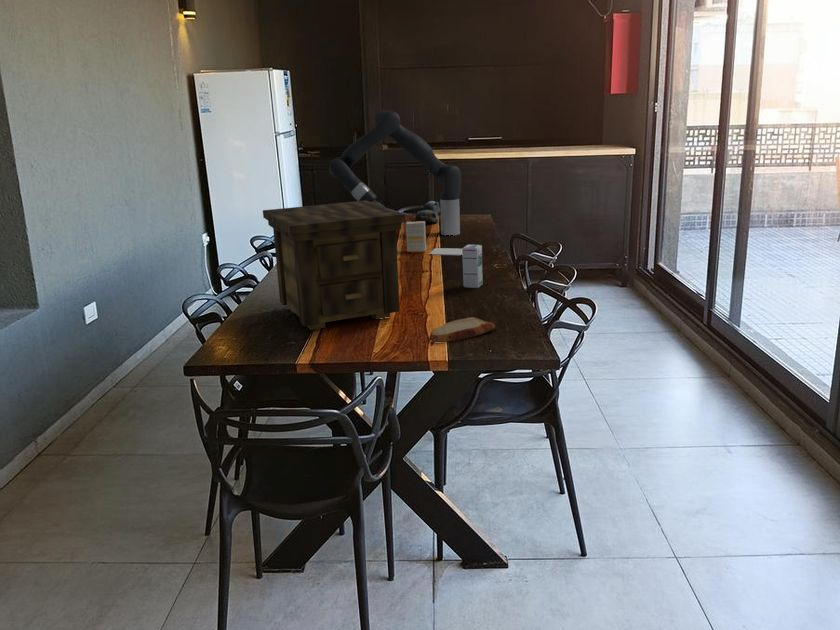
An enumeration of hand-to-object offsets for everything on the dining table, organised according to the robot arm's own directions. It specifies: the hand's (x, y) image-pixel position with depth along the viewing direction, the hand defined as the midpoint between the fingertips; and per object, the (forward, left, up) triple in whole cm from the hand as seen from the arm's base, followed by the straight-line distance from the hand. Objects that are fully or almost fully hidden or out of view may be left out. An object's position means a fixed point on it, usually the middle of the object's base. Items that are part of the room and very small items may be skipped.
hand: (391, 223), depth 321 cm
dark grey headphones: (-72, -3, -13) cm, 73 cm away
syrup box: (+55, +47, -13) cm, 74 cm away
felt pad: (0, +27, -12) cm, 30 cm away
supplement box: (0, +11, -13) cm, 17 cm away
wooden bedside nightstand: (+95, +11, -13) cm, 97 cm away
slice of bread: (+109, +54, -13) cm, 122 cm away
